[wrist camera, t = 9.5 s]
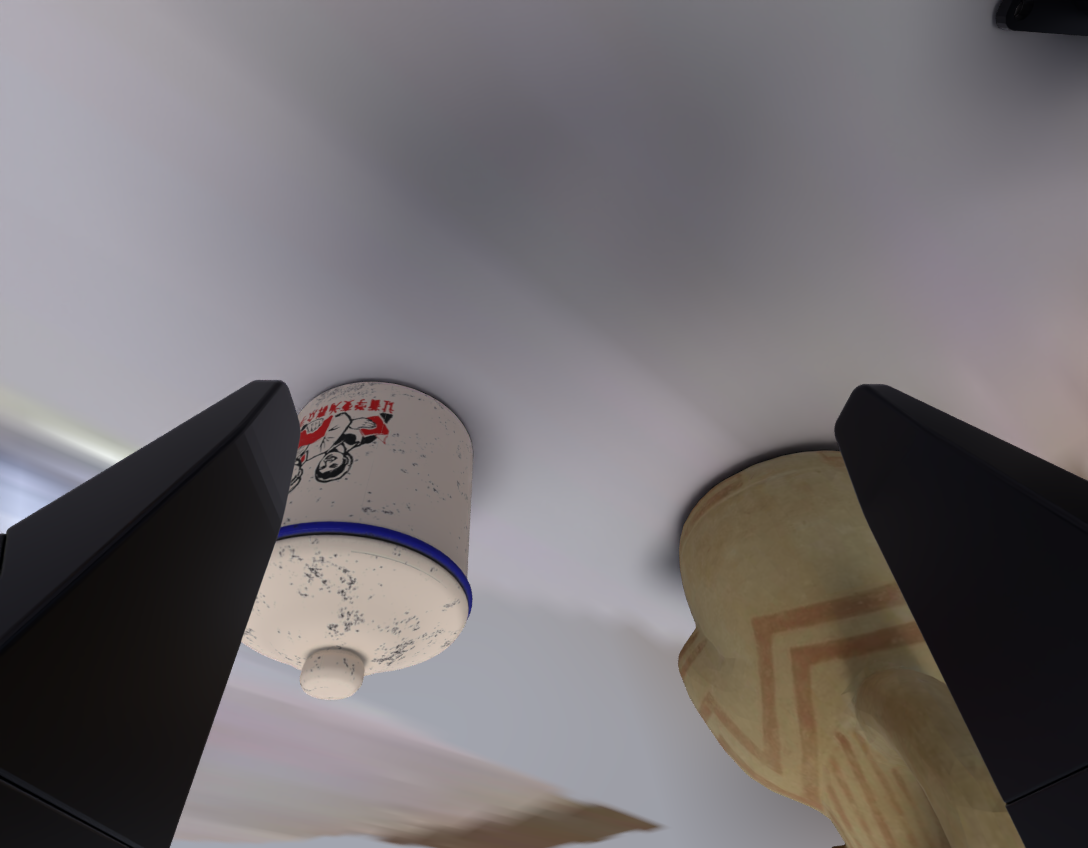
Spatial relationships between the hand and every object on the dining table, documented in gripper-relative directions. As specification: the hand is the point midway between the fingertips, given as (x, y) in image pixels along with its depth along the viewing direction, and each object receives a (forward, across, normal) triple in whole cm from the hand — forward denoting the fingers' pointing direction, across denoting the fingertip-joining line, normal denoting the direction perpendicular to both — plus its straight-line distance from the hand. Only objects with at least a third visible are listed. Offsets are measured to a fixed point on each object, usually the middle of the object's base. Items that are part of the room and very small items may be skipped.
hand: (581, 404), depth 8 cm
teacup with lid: (+13, +8, +14) cm, 21 cm away
